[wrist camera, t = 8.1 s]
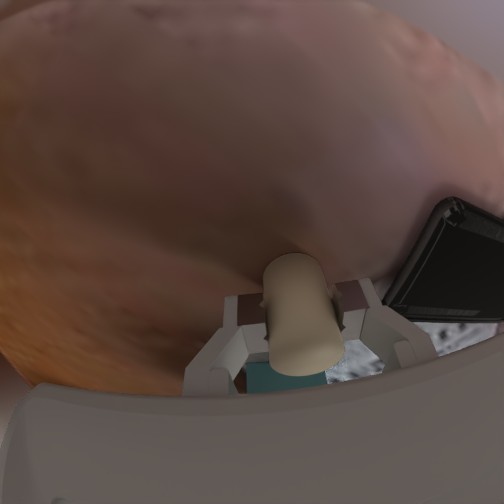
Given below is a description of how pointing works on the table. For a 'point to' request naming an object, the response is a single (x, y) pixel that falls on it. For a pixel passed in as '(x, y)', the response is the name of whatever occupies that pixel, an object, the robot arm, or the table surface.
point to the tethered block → (296, 327)
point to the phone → (453, 268)
